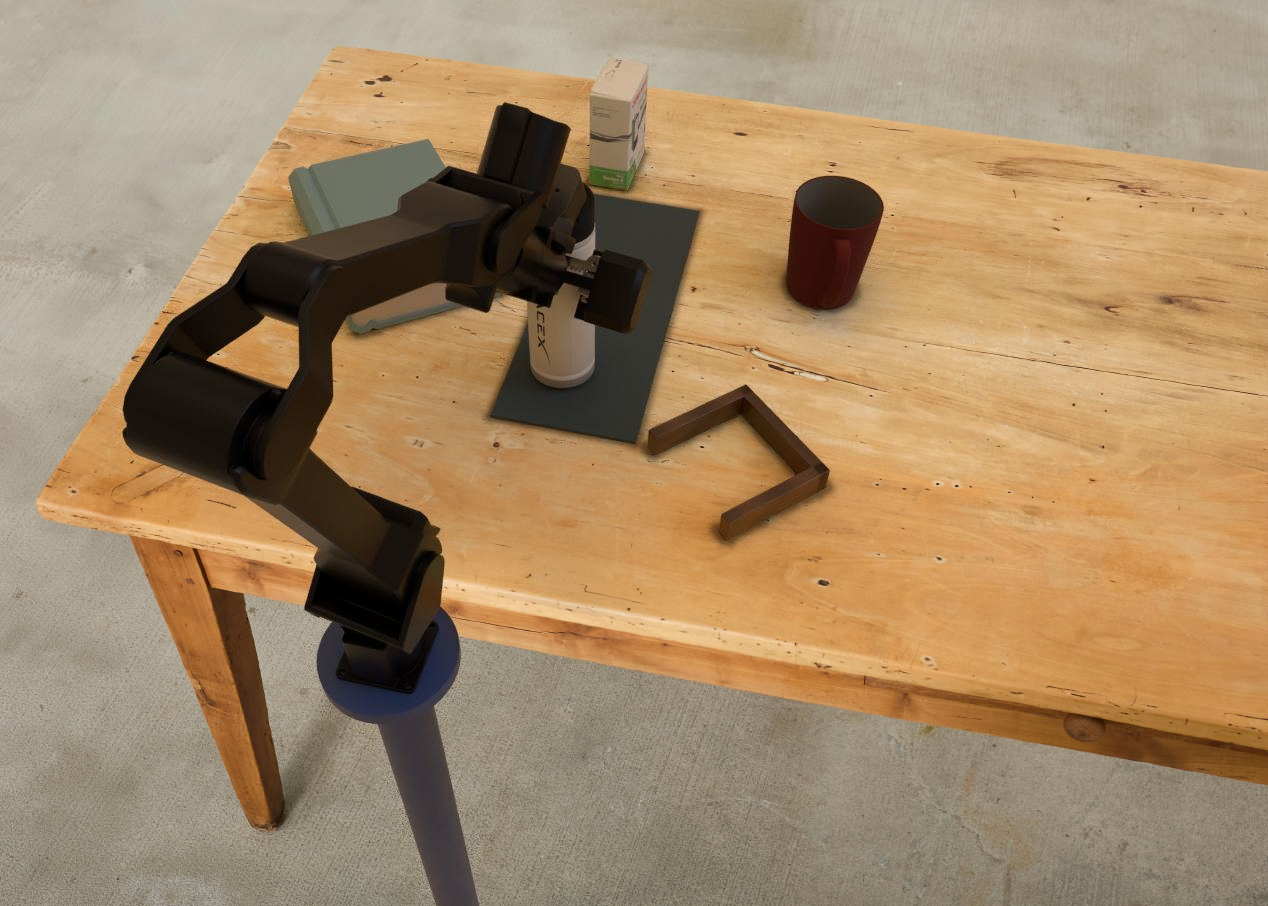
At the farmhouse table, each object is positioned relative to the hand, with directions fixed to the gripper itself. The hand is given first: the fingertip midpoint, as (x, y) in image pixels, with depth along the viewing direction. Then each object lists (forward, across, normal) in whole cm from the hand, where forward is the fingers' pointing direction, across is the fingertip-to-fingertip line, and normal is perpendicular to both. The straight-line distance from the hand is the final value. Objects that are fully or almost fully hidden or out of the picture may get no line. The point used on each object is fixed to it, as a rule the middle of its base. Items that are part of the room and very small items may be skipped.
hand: (566, 282), depth 97 cm
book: (+13, +24, +2) cm, 27 cm away
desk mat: (+14, 0, +1) cm, 14 cm away
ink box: (+30, +8, -16) cm, 34 cm away
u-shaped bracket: (+2, -19, +12) cm, 23 cm away
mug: (+21, -21, -7) cm, 30 cm away
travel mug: (+6, 0, +8) cm, 10 cm away
